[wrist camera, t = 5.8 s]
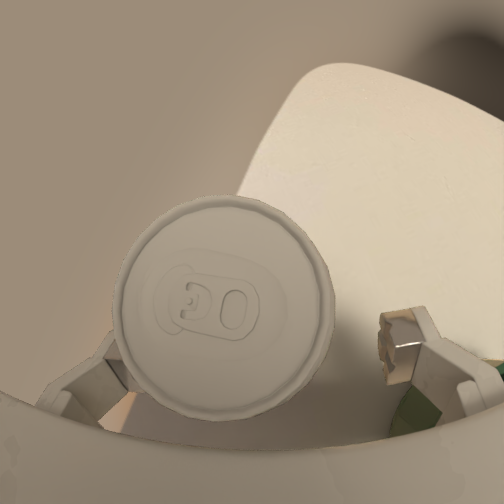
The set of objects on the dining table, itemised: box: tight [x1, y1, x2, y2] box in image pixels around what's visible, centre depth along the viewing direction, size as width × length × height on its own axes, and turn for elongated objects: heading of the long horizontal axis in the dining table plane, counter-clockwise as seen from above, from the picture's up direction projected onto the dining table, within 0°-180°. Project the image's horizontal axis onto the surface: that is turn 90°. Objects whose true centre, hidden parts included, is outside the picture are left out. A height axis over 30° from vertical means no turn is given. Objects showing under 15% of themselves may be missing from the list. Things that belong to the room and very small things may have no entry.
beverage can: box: [112, 195, 335, 422], centre depth 11 cm, size 5×5×12 cm
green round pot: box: [389, 359, 504, 438], centre depth 10 cm, size 8×8×6 cm
